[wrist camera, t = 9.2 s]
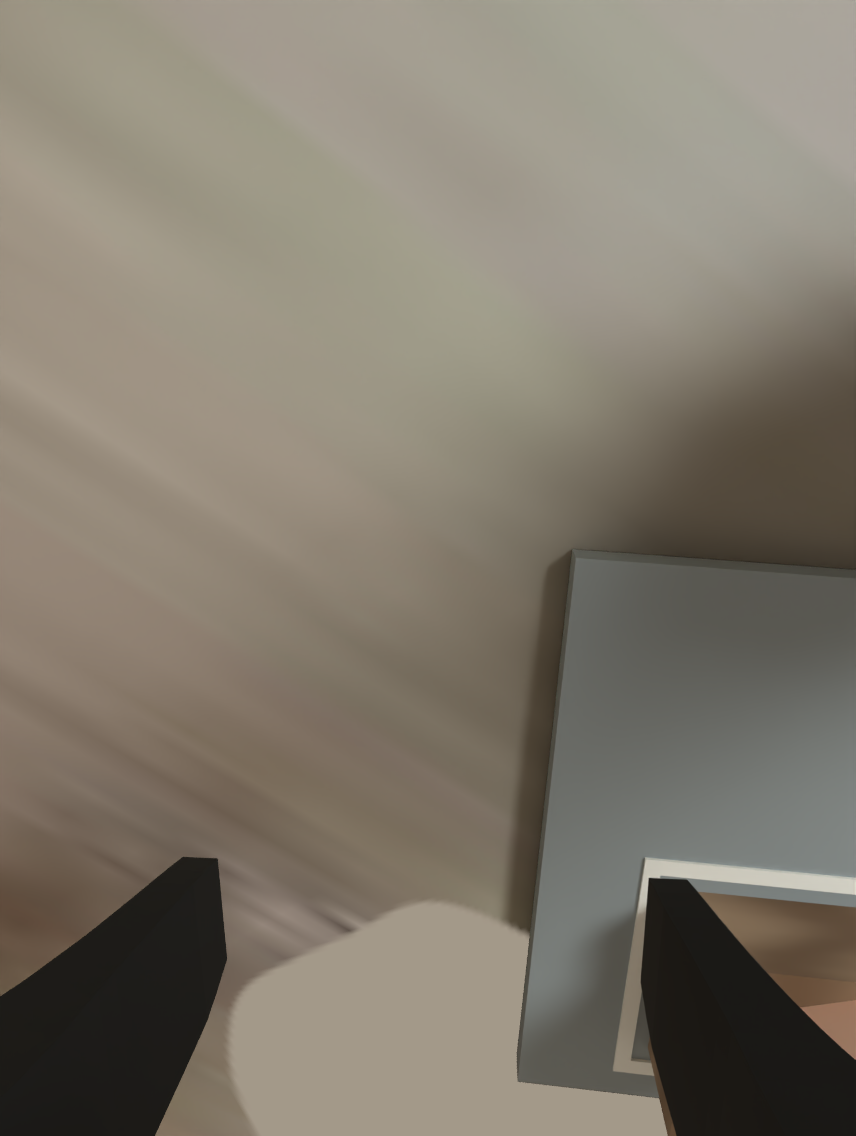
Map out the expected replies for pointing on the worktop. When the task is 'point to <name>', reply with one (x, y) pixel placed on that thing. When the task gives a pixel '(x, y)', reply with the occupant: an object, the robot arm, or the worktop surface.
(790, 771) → the build board
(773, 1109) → the robot arm
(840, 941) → the base block
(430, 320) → the worktop surface
